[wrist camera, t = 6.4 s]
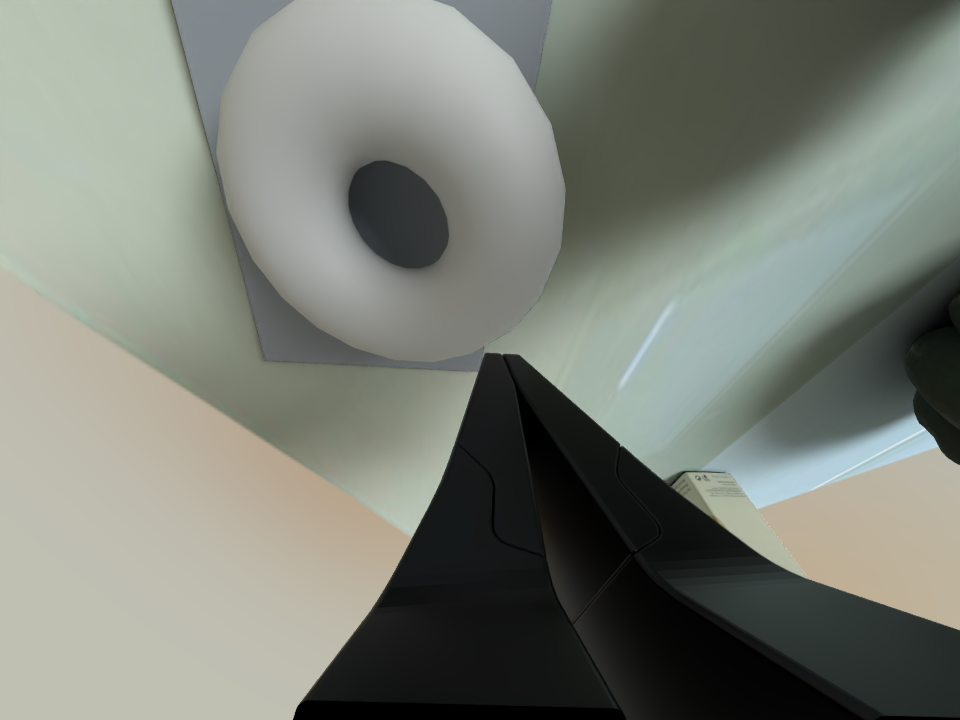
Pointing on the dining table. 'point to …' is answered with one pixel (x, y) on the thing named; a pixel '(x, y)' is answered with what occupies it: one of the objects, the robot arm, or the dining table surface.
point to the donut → (399, 139)
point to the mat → (374, 188)
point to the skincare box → (735, 514)
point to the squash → (938, 382)
